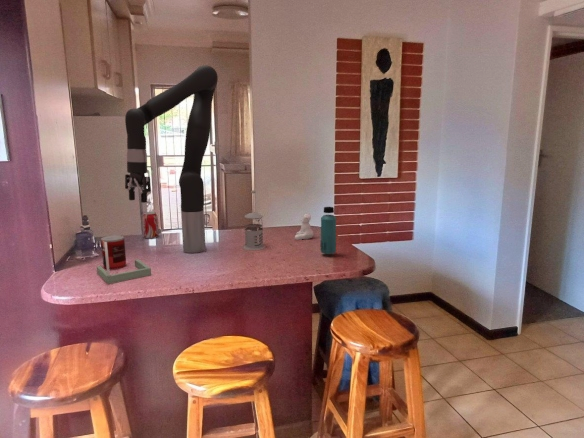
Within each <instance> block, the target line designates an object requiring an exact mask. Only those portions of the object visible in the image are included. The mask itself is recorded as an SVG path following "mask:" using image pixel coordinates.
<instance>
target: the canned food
mask: <svg viewBox="0 0 584 438" xmlns="http://www.w3.org/2000/svg"><path fill="white" fill-rule="evenodd" d="M103 241H104V242H107V249H108V260H109V270H116V269H117V270H118V269H122V268H124V267H125V266H127V256H126V246H125V245H126V244H125V243H126V242H125V237H124V236H123V235H105V236H103V237H101V238H100V243H101V254H102V255H101V256H102V264H103V265H102V266H103V267H104V269H106V270H107V267H106V257H105V248H104V247H103Z"/></svg>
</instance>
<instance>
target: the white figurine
mask: <svg viewBox="0 0 584 438" xmlns="http://www.w3.org/2000/svg"><path fill="white" fill-rule="evenodd" d="M310 221H311V214H310V213H304V214H303V216H301V220H300V222H302V223H301V225H300V230H299V231H297V232H296V233H295V234H296V235H294V240H295V241H300V240H301V241H303V240H302V239H304V240H310V238H311V239H312V238H313V237H314V231H313V229H312V228H311V224H310Z"/></svg>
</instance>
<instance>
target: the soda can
mask: <svg viewBox="0 0 584 438" xmlns="http://www.w3.org/2000/svg"><path fill="white" fill-rule="evenodd" d="M158 216H159V215H158V214H157V211H145V212H143V215H142V219H141V220H142V231H143V232H142V233H143V237H144V238H146V239H151V240H152V239H156V238H158V237H159V236H160V229H159V217H158Z"/></svg>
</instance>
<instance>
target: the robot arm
mask: <svg viewBox="0 0 584 438" xmlns="http://www.w3.org/2000/svg"><path fill="white" fill-rule="evenodd" d="M217 72H218V71H216V69H215V68H213V66H211V65H207V64H206V65H205V64H203V65H200V66H199V67H197V68H196V69H195V70H194V71H193V72H191V74H189V75H188V76H187V77H186V78H184V79H183V80H181V81H180V82H178V83H177V84H175V85H173V86H171V87H170V88H168V89H166V90H164V91H162V92H160V93H158V94H157V95H155V96H153V97H152V98H149V99H148V100H147V101H146V102H145V103H144V104H142V105H140V106H139V107H137V108H131V109H128V110H127V112H126V113H125V117H124V120H125V131H126V137H127V139H126V149H127V150H126V172H127V173H128V174H125V175H124V189H126V190H127V191H128V200H129V201H135V200H136V198H135V197H136V192H135V190H136V188H138V189H139V191H140V203H147V201H148V193H149V192H151V190H152V189H151V178H150V177H151V176H145V174H147V173H148V153H147V139H146V138H147V137H146V135H145V126H146V125H148V124H150V123H151V122H152V121H153V120H155V119H156V118H158V117H160V116H162V115H164V114H165V113H167V112H169V111H171V110H172V109H173V108H176V107H177V106H178V105H179V104H181V103H182V102H183V101H185V100H186V99H188V98H190V97H191V96H193V103H192V105H191V109H190V113H189V116H188V120H187V124H186V125H187V126H186V132H185V140H184V158H183V164H182V169H181V172H180V176H179V179H178V185H179V187H180V214H181V234H182V236H181V237H182V249H183V252H184V253H187V254H196V253H198V254H199V253H202V252H206V248H207V247H206V230H205V229H206V227H205V213H204V211H205V209H204V208H205V189H204V188H205V185H204V179H203V178H202V164H203V161H204V160H203V159H204V156H205V155H206V151H207V148H208V145H209V139H210V132H211V126H212V104H213V99H214V94H215V92H216V91H215V90H216V88H217V86H218V85H217V84H218V81H219V80H218V79H219V75H218V73H217Z"/></svg>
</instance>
